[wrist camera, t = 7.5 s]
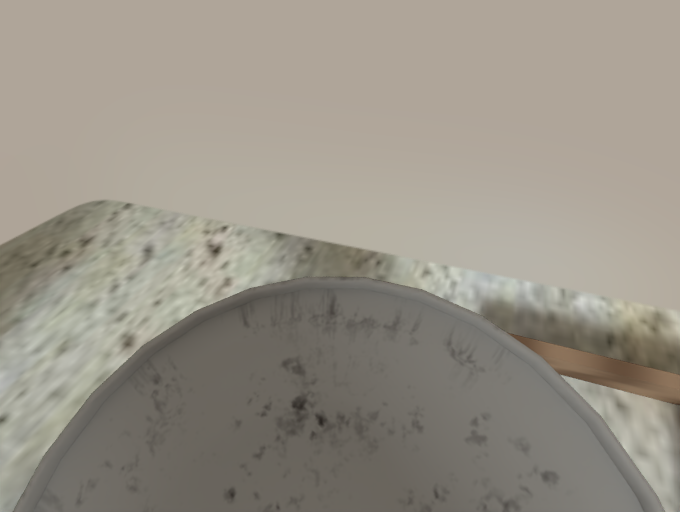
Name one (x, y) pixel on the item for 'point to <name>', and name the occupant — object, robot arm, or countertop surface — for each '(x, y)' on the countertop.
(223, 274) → the countertop surface
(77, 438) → the grey speckled cylinder
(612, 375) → the collar
